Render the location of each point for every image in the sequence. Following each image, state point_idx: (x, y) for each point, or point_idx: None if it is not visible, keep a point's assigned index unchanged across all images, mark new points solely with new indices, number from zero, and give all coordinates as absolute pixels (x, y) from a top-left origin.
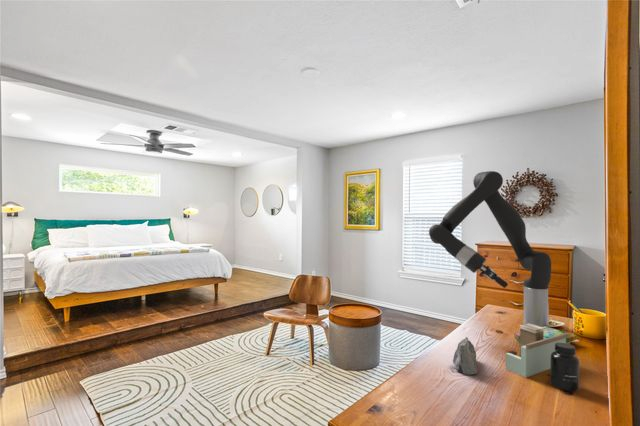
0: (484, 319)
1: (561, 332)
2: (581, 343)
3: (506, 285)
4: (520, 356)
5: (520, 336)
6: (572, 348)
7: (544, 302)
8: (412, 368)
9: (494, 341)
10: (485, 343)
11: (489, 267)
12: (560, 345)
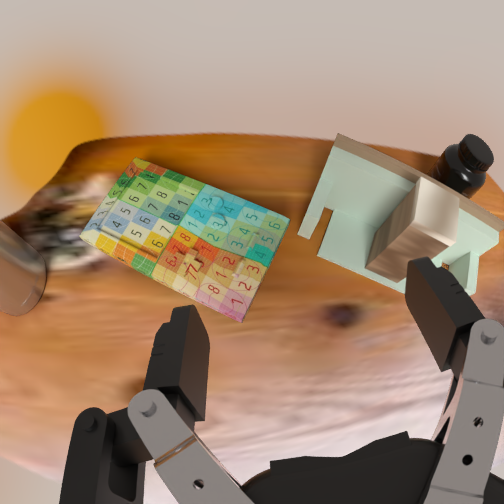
0: (37, 444)
1: (124, 190)
2: (122, 166)
3: (198, 319)
4: (403, 277)
5: (434, 256)
6: (481, 139)
7: None
8: None
9: (272, 387)
10: (315, 406)
11: (484, 496)
12: (488, 156)
